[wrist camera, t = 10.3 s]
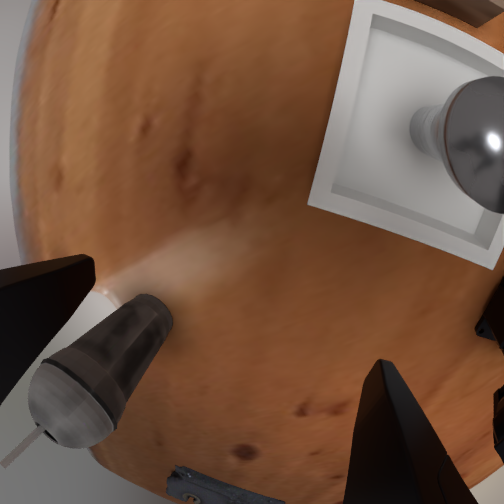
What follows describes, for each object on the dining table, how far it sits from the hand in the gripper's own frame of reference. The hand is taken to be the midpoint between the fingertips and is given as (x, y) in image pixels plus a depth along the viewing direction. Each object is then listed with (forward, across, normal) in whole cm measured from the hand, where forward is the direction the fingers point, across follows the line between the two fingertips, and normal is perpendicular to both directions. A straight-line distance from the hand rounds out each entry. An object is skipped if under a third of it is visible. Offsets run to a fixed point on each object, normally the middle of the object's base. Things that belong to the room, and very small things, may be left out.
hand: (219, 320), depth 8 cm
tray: (+13, -7, -7) cm, 16 cm away
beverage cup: (+13, +10, +14) cm, 22 cm away
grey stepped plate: (+14, -3, +56) cm, 57 cm away
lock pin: (+12, -7, -7) cm, 16 cm away
